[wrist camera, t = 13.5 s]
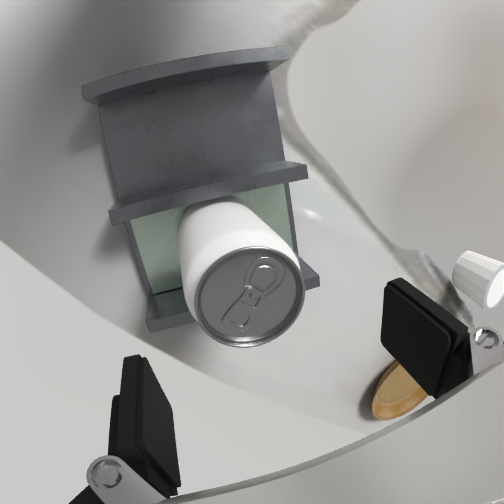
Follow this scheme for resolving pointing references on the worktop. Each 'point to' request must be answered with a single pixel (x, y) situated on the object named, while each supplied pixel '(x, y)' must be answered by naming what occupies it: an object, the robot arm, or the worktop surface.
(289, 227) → the grey ribbed shelf
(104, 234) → the worktop surface
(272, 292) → the can
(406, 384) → the plant saucer
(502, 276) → the white cup
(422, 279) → the worktop surface
